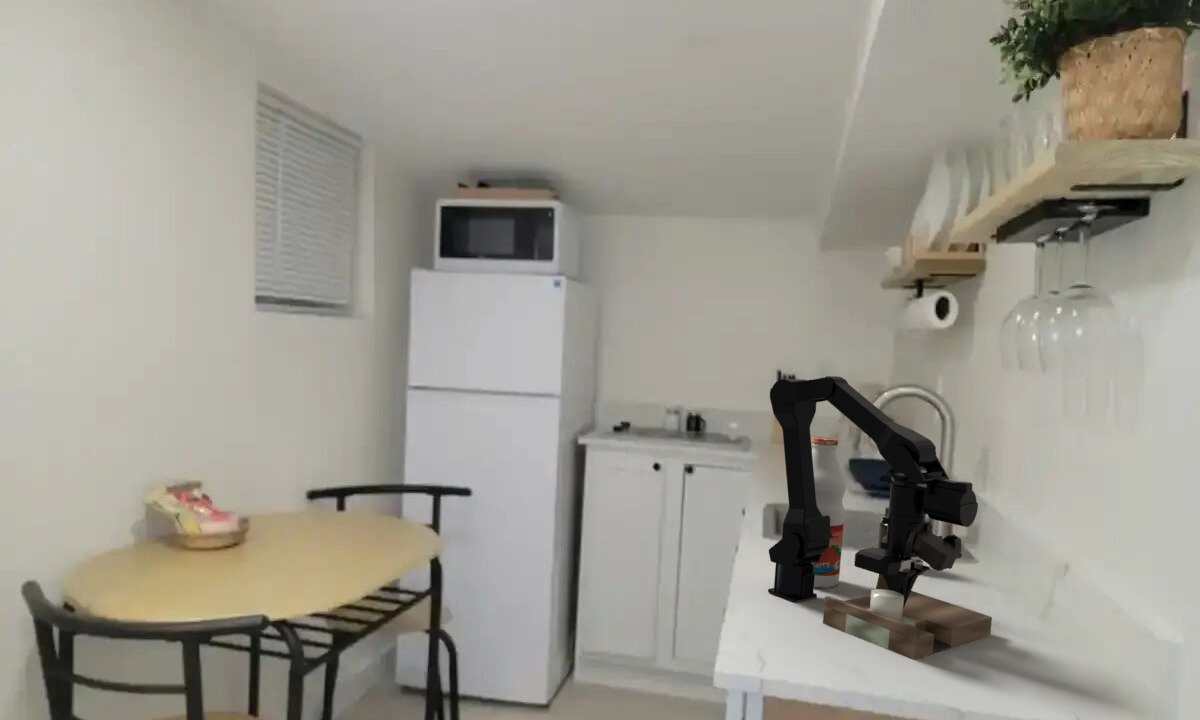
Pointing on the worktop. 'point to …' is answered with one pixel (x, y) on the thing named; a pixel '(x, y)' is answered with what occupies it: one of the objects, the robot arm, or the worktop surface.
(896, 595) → the white short cylinder
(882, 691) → the worktop surface
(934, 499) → the robot arm
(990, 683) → the worktop surface
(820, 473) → the fruit juice
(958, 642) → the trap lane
